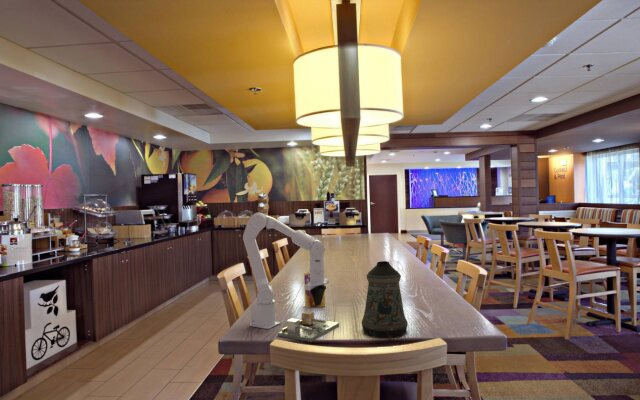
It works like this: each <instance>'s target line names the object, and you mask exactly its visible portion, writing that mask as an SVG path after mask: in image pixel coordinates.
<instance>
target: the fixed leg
mask: <svg viewBox="0 0 640 400" xmlns="http://www.w3.org/2000/svg"><path fill="white" fill-rule="evenodd" d="M300 320H301V319H297V318H292V317H291V318H289V319H288V320H286V327H287V332H292V333H296V332H298V331H300V329H306V330H312V328H309V327H303V326H300Z"/></svg>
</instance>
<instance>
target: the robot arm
mask: <svg viewBox="0 0 640 400" xmlns="http://www.w3.org/2000/svg"><path fill="white" fill-rule="evenodd" d="M265 227H266V230H267V229H270V230H271V229H275V231H278V232H280V233H281V234H284V235H285V236H287V237H289V238H290V239H291V241H292V243H293V244H295V245H296V246H298V247H300V248H302V249H303V250H305V251H309V272H310V282H309V283H308V284H306V285H305V284H304V291H305V290H310V292H311V294H312V296H313V299H314V303H315V305H321V302H322V298H323V294H324V292H325V291H326V290H327V286H325V285H328V284H329V283H330V278H325V259H324V253H325V250H326V248H325V245H324V243H323V242H321V241H320V240H319V239H317V237H315V236H312V235H309V234H307V233H306V230H304V229H302V230H301V229H298V230H294V229H292V228H291V227H289V226H288V225H286V224H285V223H282V222H281V221H280V220H279V219H277V218H274V217H272V216H270V215H265V214H264V213H262V212H255V213H254V214H252V216H251V217H250V218H249V219H248V220H247V223H246V225H245V229H244V233H243V236H242V240H243V243H244V246H245V250H246V253H247V257H248V260H249V263H250V267H251V270H252V274H253V277H254V280H255V286H256V288H257V289H256V290H257V294H256V298H257V299H256V300H255V301H254V302H252V303H251V306H250V312H249V313H250V324H249V327H255V328H259V329H265V330H269V329H272V328H273V327H276V326H278V325H280V324H281V322H280V321H277V320H276V300H275V299H274V296H275V294H274V287H273V286H272V284H270V281H269V279H268V276H267V272H266V270H265V267H264V263H263V260H262V256H261V253H260V248H259V246H258V243H257V236H258V235H259V233H260V232H261V231H262V230H263V229H264V228H265ZM323 285H324V286H323ZM325 293H326V292H325Z"/></svg>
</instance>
